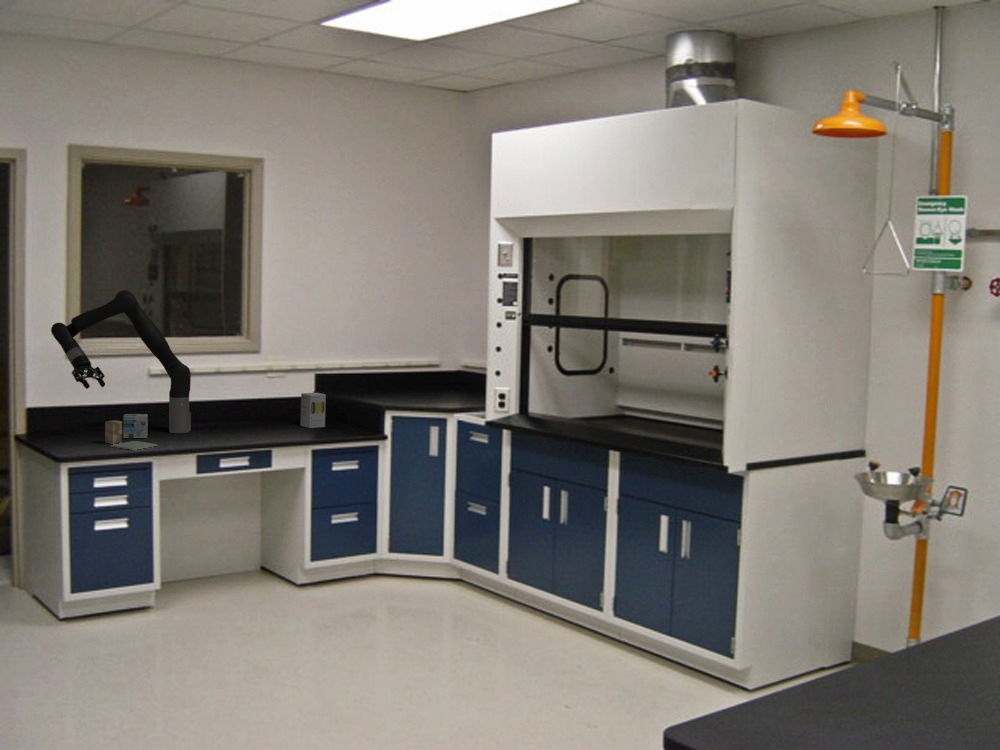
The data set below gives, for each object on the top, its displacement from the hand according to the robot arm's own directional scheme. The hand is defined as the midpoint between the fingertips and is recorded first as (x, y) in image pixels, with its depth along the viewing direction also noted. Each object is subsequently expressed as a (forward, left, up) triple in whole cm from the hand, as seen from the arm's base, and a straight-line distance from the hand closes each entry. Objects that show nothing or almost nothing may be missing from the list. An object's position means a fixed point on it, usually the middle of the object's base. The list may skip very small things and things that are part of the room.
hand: (96, 386), depth 487 cm
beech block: (0, +11, -25) cm, 27 cm away
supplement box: (-96, +46, -25) cm, 109 cm away
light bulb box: (-16, +7, -25) cm, 30 cm away
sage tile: (0, +24, -25) cm, 35 cm away
